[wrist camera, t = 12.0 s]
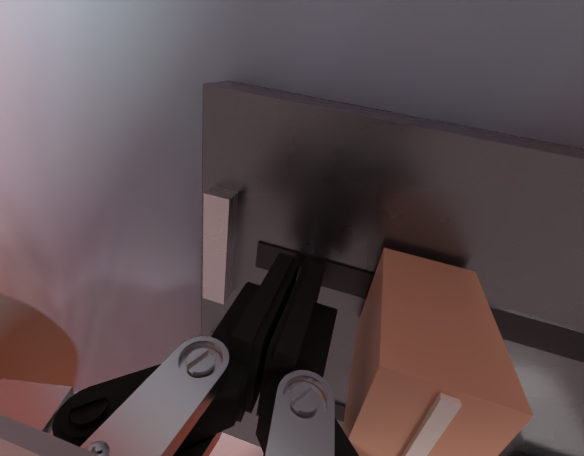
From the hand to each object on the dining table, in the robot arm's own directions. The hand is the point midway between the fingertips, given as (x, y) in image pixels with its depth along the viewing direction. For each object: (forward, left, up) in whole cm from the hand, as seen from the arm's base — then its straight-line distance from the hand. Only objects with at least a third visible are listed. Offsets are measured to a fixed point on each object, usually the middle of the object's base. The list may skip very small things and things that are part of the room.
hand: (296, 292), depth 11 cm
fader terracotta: (0, +4, -1) cm, 4 cm away
